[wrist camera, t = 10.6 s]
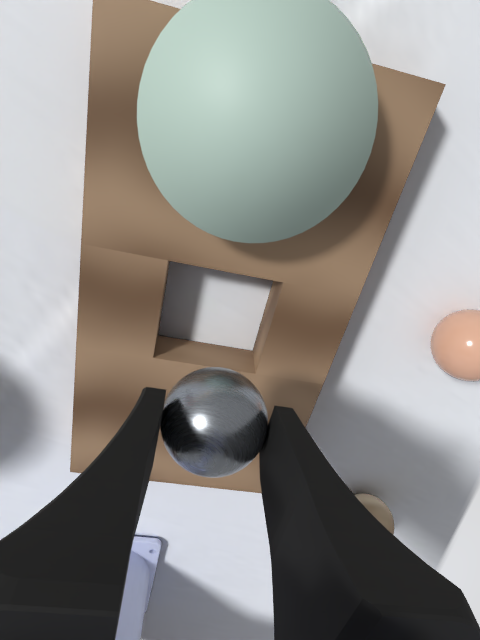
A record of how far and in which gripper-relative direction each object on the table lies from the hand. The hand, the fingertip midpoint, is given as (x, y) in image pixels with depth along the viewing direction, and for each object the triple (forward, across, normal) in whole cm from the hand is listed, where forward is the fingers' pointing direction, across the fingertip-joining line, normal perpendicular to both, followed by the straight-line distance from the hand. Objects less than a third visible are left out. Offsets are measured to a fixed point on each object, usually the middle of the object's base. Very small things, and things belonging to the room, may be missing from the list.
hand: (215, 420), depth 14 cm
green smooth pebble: (+6, 0, -8) cm, 10 cm away
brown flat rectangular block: (+8, 0, 0) cm, 8 cm away
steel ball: (0, 0, 0) cm, 0 cm away
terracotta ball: (+7, -12, -1) cm, 14 cm away
